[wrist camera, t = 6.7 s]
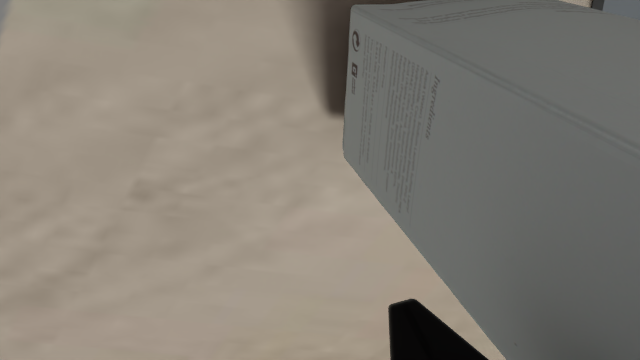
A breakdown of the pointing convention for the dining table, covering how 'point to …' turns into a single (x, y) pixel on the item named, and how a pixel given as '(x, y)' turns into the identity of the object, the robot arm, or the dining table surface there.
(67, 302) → the dining table surface
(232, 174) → the dining table surface
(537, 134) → the skincare box
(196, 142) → the dining table surface
